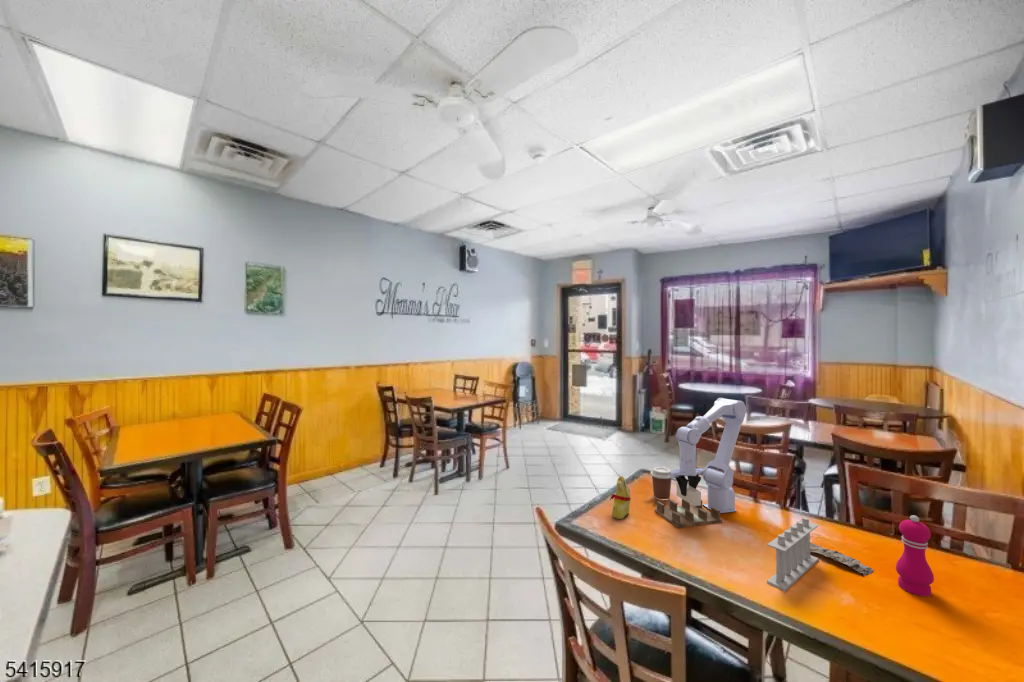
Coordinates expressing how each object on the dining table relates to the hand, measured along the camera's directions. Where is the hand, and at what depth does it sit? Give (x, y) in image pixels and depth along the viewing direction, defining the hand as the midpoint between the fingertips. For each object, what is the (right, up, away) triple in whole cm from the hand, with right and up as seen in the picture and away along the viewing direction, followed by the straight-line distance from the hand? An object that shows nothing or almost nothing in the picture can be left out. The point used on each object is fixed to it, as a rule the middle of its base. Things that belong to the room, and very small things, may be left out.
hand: (687, 494), depth 150 cm
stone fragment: (+30, -9, -26) cm, 41 cm away
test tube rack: (+15, -9, -35) cm, 39 cm away
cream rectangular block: (0, -2, 0) cm, 2 cm away
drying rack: (0, -8, 0) cm, 8 cm away
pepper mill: (+42, -9, -44) cm, 61 cm away
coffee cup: (-3, -9, +18) cm, 20 cm away
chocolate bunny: (-25, -9, +3) cm, 27 cm away
